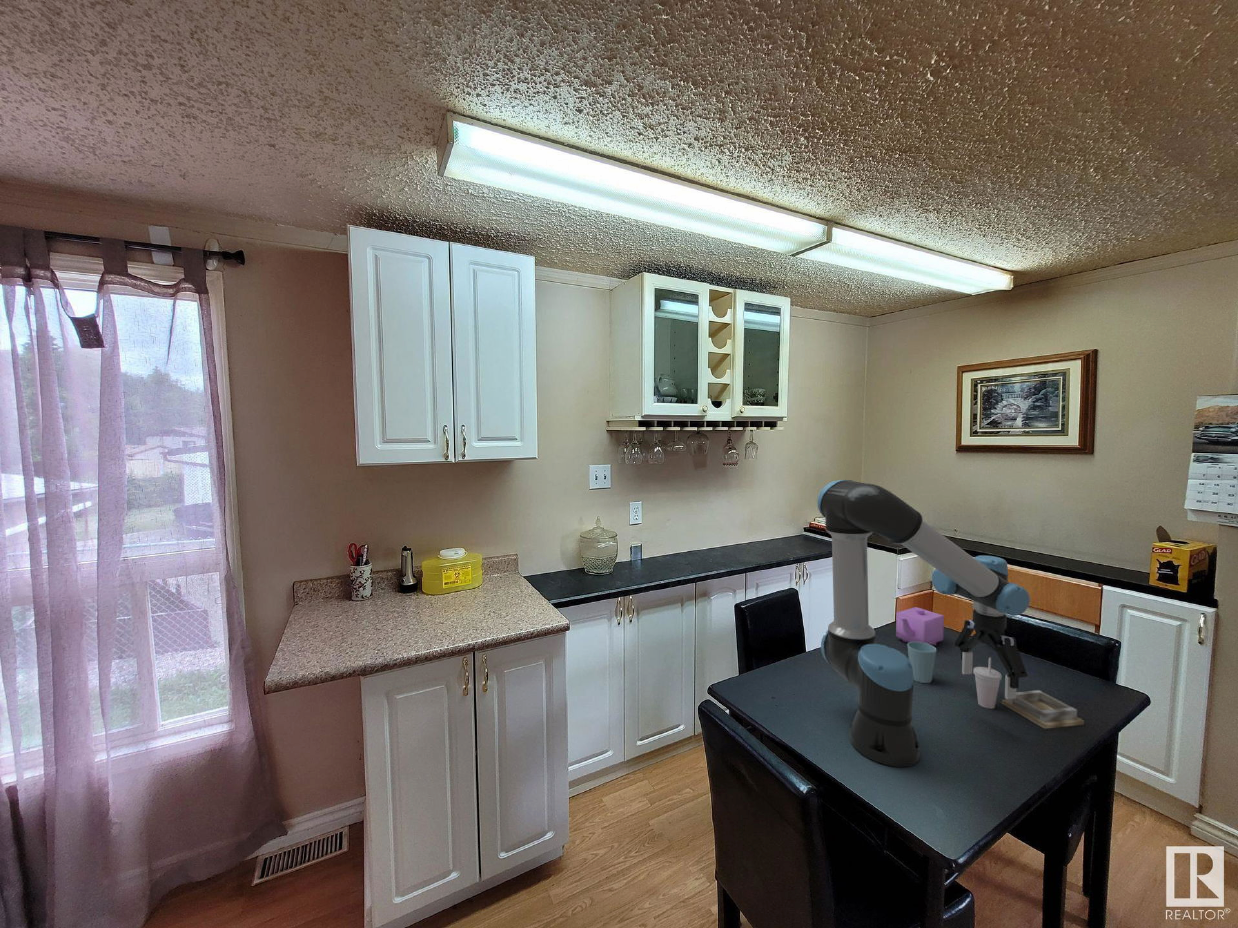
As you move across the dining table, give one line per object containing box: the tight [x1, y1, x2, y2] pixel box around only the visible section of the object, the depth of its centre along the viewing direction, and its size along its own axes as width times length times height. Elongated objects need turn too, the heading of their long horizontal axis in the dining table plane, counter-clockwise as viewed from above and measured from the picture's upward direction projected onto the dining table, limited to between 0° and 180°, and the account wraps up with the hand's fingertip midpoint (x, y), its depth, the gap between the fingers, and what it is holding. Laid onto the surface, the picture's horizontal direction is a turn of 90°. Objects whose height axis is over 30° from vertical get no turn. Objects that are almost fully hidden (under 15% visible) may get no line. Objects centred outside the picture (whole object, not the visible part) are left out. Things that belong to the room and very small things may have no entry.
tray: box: [1001, 689, 1085, 729], centre depth 132 cm, size 12×12×4 cm
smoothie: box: [972, 656, 1003, 710], centre depth 136 cm, size 6×6×14 cm
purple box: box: [895, 606, 945, 646], centre depth 176 cm, size 20×10×12 cm, turn 117°
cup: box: [907, 642, 937, 684], centre depth 151 cm, size 8×8×10 cm
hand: (987, 685), depth 136 cm, fingers open, 13 cm apart
